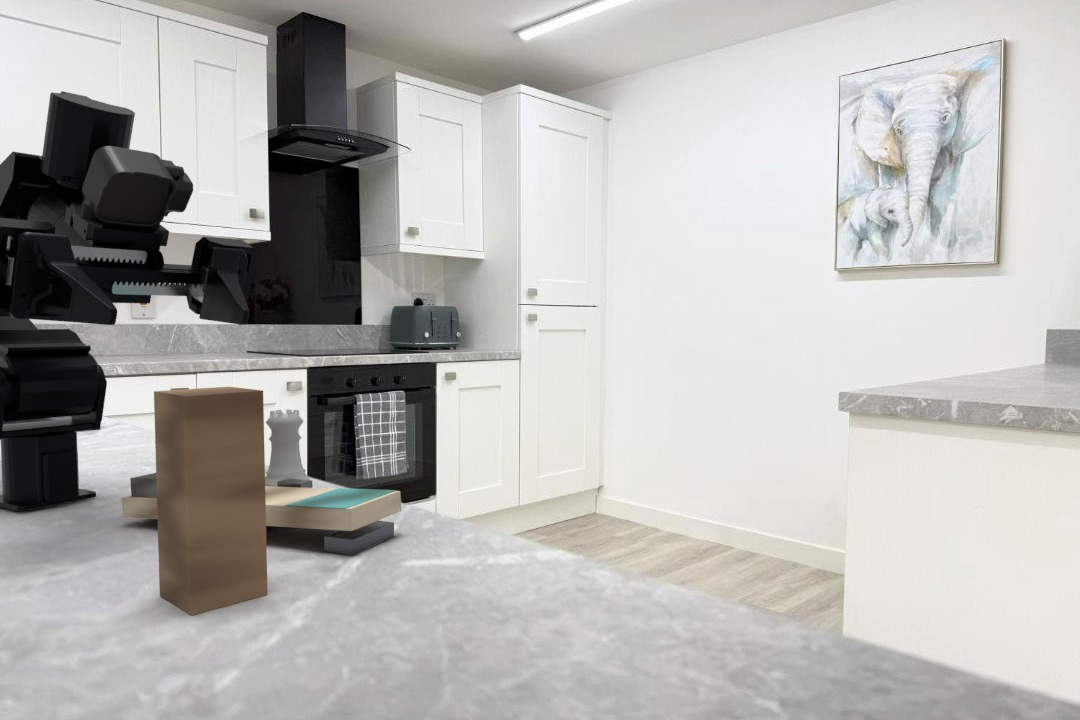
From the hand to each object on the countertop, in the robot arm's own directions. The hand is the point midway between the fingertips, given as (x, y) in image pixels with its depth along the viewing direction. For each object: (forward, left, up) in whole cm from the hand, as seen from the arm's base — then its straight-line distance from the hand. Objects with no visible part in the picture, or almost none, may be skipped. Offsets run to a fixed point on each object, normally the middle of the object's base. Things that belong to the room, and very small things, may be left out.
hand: (184, 317), depth 52 cm
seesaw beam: (-1, +6, -16) cm, 17 cm away
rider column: (+9, -4, -16) cm, 19 cm away
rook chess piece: (-8, +15, -16) cm, 24 cm away
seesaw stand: (+4, +7, -16) cm, 18 cm away
